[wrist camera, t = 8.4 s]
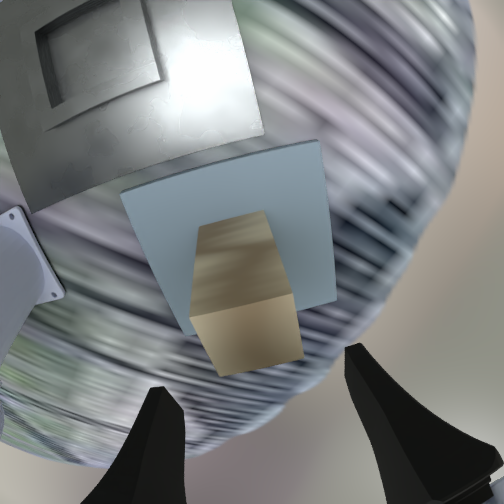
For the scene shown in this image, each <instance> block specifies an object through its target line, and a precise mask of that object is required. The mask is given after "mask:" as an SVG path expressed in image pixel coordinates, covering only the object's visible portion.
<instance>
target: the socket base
mask: <svg viewBox="0 0 504 504" xmlns="http://www.w3.org/2000/svg"><path fill="white" fill-rule="evenodd" d="M0 129H1V133H2V136H3V140H4V143H5V146H6V149H7V152H8V155H9V158H10V161H11V164H12V167H13V169H14V172H15V175H16V178H17V180H18V183H19V185H20V188H21V190H22V193H23V195H24V198H25V200H26V202H27V205H28V207H29V209H30V211H31V214H33V213H35V212H37V211H39V210H41V209H43V208H46V207H48V206H50V205H52V204H54V203H57V202H59V201H61V200H63V199H66V198H68V197H70V196H73V195H75V194H77V193H80V192H82V191H85V190H87V189H89V188H92V187H94V186H97V185H100V184H102V183H105V182H107V181H110V180H113V179H115V178H118V177H121V176H123V175H126V174H129V173H132V172H135V171H137V170H140V169H143V168H146V167H149V166H152V165H155V164H158V163H161V162H164V161H168V160H171V159H174V158H177V157H180V156H184V155H187V154H191V153H194V152H197V151H201V150H205V149H208V148H212V147H216V146H219V145H223V144H227V143H231V142H235V141H239V140H243V139H247V138H252V137H256V136H260V135H265V134H264V129H263V125H262V120H261V116H260V112H259V107H258V103H257V99H256V95H255V91H254V87H253V82H252V78H251V74H250V70H249V66H248V62H247V58H246V54H245V51H244V47H243V43H242V39H241V35H240V31H239V28H238V24H237V20H236V17H235V13H234V9H233V6H232V2H231V0H3V1H2V2H0Z"/></svg>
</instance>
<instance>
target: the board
mask: <svg viewBox="0 0 504 504" xmlns="http://www.w3.org/2000/svg"><path fill="white" fill-rule="evenodd" d="M119 195H120V197H121V200H122V202H123V205H124V207H125V210H126V212H127V214H128V217H129V219H130V222H131V224H132V226H133V229H134V231H135V234H136V236H137V238H138V240H139V243H140V245H141V247H142V249H143V252H144V254H145V256H146V258H147V260H148V263H149V265H150V267H151V269H152V271H153V273H154V275H155V278H156V280H157V282H158V284H159V286H160V288H161V290H162V292H163V294H164V296H165V298H166V300H167V302H168V304H169V306H170V308H171V310H172V312H173V314H174V316H175V318H176V320H177V321H178V323H179V325H180V327H181V329H182V331H183V333H184V335H185V336H190V335H195V334H197V333H196V331H195V329H194V327H193V325H192V323H191V321H190V319H189V313H190V302H191V291H192V282H193V272H194V263H195V254H196V246H197V238H198V230H199V226H202V225H206V224H210V223H214V222H217V221H221V220H225V219H229V218H233V217H237V216H241V215H245V214H249V213H253V212H257V211H261V210H264V212H265V215H266V218H267V221H268V223H269V226H270V229H271V232H272V235H273V238H274V240H275V243H276V246H277V249H278V252H279V255H280V258H281V260H282V263H283V266H284V269H285V272H286V275H287V278H288V281H289V284H290V287H291V290H292V293H293V297H294V303H295V308H296V311H300V310H303V309H307V308H311V307H315V306H318V305H322V304H326V303H329V302H333V301H336V300H337V292H336V277H335V264H334V252H333V242H332V232H331V222H330V213H329V205H328V197H327V189H326V181H325V174H324V167H323V161H322V154H321V148H320V142H319V141H318V140H310V141H305V142H300V143H295V144H290V145H285V146H280V147H276V148H271V149H267V150H262V151H258V152H254V153H249V154H245V155H241V156H237V157H233V158H229V159H225V160H222V161H218V162H214V163H210V164H207V165H203V166H200V167H196V168H193V169H189V170H186V171H182V172H179V173H176V174H172V175H169V176H166V177H163V178H159V179H156V180H153V181H150V182H147V183H144V184H141V185H138V186H135V187H132V188H129V189H126V190H124V191H122V192H121V193H120V194H119Z"/></svg>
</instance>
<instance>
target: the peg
mask: <svg viewBox="0 0 504 504" xmlns="http://www.w3.org/2000/svg"><path fill="white" fill-rule="evenodd" d="M189 319H190V321H191V323H192V325H193V327H194V329H195V331H196V333H197V335H198V336H199V338H200V340H201V342H202V344H203V346H204V348H205V350H206V352H207V354H208V356H209V358H210V359H211V361H212V363H213V365H214V367H215V369H216V371H217V372H218V374H219V376H220V377H221V376H227V375H232V374H237V373H242V372H247V371H252V370H257V369H261V368H266V367H270V366H274V365H279V364H283V363H287V362H291V361H295V360H299V359H303V358H304V353H303V347H302V342H301V336H300V330H299V325H298V319H297V313H296V308H295V303H294V297H293V293H292V290H291V287H290V284H289V281H288V278H287V275H286V272H285V269H284V266H283V263H282V260H281V258H280V255H279V252H278V249H277V246H276V243H275V240H274V238H273V235H272V232H271V229H270V226H269V223H268V221H267V218H266V215H265V212H264V210H261V211H257V212H253V213H249V214H245V215H241V216H237V217H233V218H229V219H225V220H221V221H217V222H214V223H210V224H206V225H202V226H199V230H198V238H197V246H196V254H195V263H194V272H193V282H192V291H191V302H190V313H189Z"/></svg>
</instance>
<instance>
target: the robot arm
mask: <svg viewBox="0 0 504 504" xmlns="http://www.w3.org/2000/svg"><path fill="white" fill-rule="evenodd" d="M12 214H13V215H14V217H13V216H12ZM55 293H56V294H55ZM64 295H65V290H64V288H63V287H62V285H61V283H60V282H59V280H58V278H57V277H56V275H55V273H54V271H53V270H52V268H51V266H50V264H49V263H48V261H47V259H46V257H45V255H44V253H43V251H42V250H41V248H40V246H39V244H38V242H37V240H36V238H35V236H34V234H33V232H32V230H31V228H30V226H29V223H28V221H27V219H26V217H25V215H24V213H23V210H22V209H21V208H20V207H19V206H15V207H13V208H12V209H10V210H8V211H6V212H4V213H3V214H1V215H0V367H1V365H2V363H3V361H4V359H5V357H6V355H7V353H8V351H9V349H10V347H11V345H12V344H13V342H14V340H15V338H16V336H17V334H18V333H19V331H20V329H21V327H22V326H23V324H24V322H25V320H26V319H27V317H28V315H29V314H30V312H31V310H32V309H33V307H34V305H37V304H41V303H45V302H49V301H53V300H57V299H61V298H63V297H64ZM345 379H346V383H347V386H348V389H349V392H350V395H351V398H352V401H353V403H354V405H355V408H356V410H357V412H358V415H359V417H360V419H361V421H362V423H363V426H364V428H365V430H366V433H367V435H368V437H369V440H370V442H371V445H372V448H373V451H374V454H375V457H376V461H377V464H378V468H379V471H380V476H381V479H382V483H383V488H384V492H385V496H386V501H387V504H504V476H503V477H502V478H500V479H498V480H496V481H494V482H493V483H491V484H489V482H491V478H490V475H491V474H492V473H494V472H495V471H497V470H498V469H499V468H500V467H502V466H503V464H504V462H503V460H502V458H501V456H500V454H499V452H498V451H497V449H496V448H495V447H494V446H492V445H490V444H487V443H485V442H482V441H480V440H478V439H476V438H473V437H471V436H470V435H468V434H466V433H464V432H462V431H460V430H459V429H457V428H455V427H453V426H451V425H450V424H448V423H447V422H445V421H443V420H442V419H441V418H439V417H438V416H436V415H435V414H433V413H432V412H431V411H429V410H428V409H427V408H425V407H424V406H423V405H421V404H420V403H419V402H418V401H417V400H415V399H414V398H413V397H412V396H411V395H409V393H407V392H406V391H405V390H404V389H403V388H402V387H401V386H400V385H399V384H398V383H397V382H396V381H395V380H394V379H393V378H392V377H390V375H389V374H388V373H387V372H386V371H385V370H384V369H383V368H382V367H381V366H380V365H379V364H378V362H377V361H376V360H375V359H374V358H373V357H372V356H371V355H370V353H369V352H368V351H367V350H366V348H365V347H364V346H363V345H362V344H361V343H357V344H354V345H351V346H348V347H345ZM1 385H2V382H1V380H0V387H1ZM3 427H4V410H3V406H2V402H1V400H0V438H1V435H2V432H3ZM184 459H185V421H184V410H183V409H182V408H181V407H180V405H179V404H178V403H177V402H176V401H175V399H174V398H173V397H172V396H171V395H170V393H169V392H168V391H167V390H166V388H165V387H164V386H161V387H152V388H150V389H149V392H148V394H147V396H146V398H145V400H144V403H143V405H142V407H141V409H140V411H139V414H138V416H137V418H136V420H135V422H134V424H133V426H132V428H131V430H130V433H129V435H128V437H127V439H126V440H125V442H124V444H123V446H122V448H121V450H120V452H119V453H118V455H117V457H116V458H115V460H114V462H113V463H112V465H111V466H110V468H109V469H108V471H107V472H106V474H105V475H104V476H103V478H102V479H101V480H100V482H99V483H98V484H97V486H96V487H95V488H94V489H93V490H92V492H91V493H90V494H89V495H88V496H87V497H86V498H85V499H84V500H83V501H82V502H81V503H80V504H187V503H186V496H185V487H184Z"/></svg>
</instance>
